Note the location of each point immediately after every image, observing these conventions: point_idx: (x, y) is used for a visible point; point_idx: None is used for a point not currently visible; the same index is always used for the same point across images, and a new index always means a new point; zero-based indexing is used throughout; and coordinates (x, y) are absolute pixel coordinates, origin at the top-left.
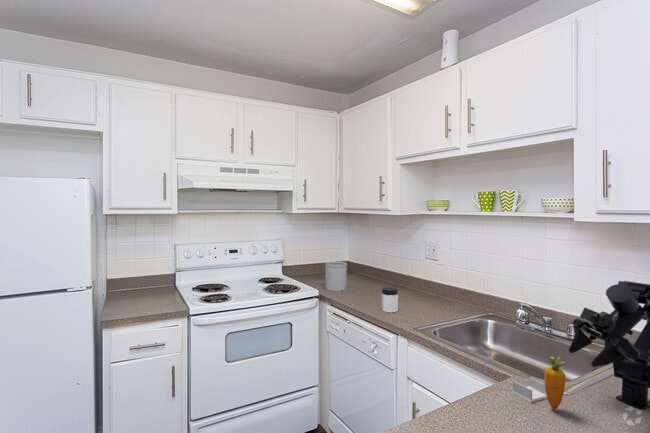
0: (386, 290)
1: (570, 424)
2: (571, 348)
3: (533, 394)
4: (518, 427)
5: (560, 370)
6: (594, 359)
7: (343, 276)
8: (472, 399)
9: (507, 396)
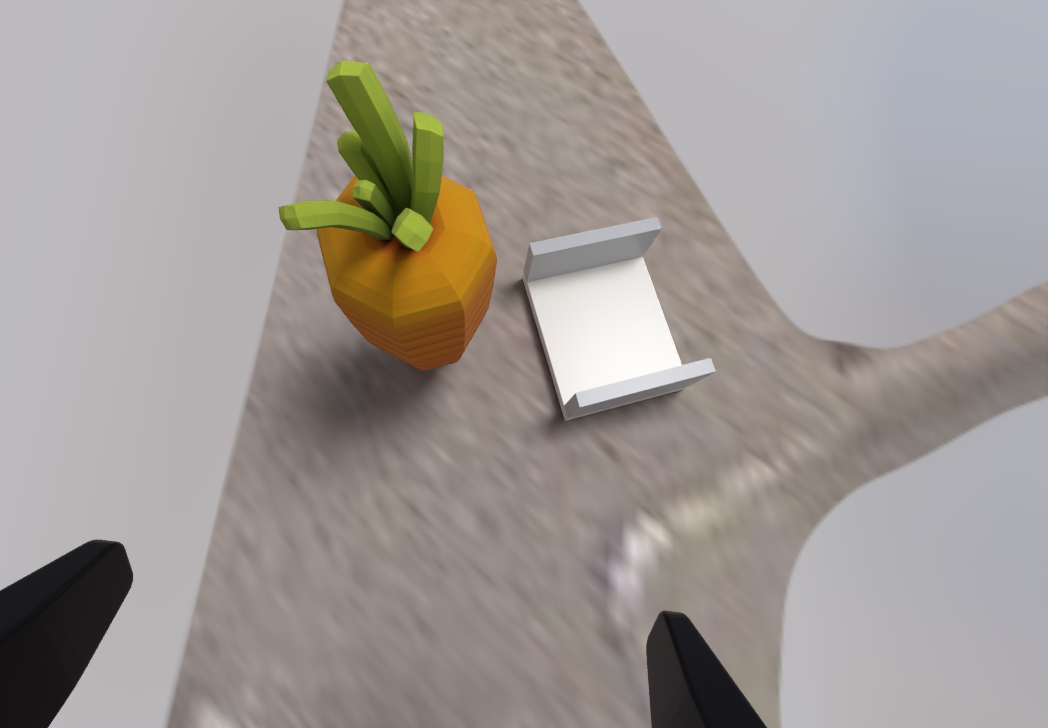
0: None
1: (290, 334)
2: (678, 664)
3: (581, 330)
4: (323, 82)
5: (368, 260)
6: (22, 613)
7: None
8: (576, 33)
9: (595, 203)
